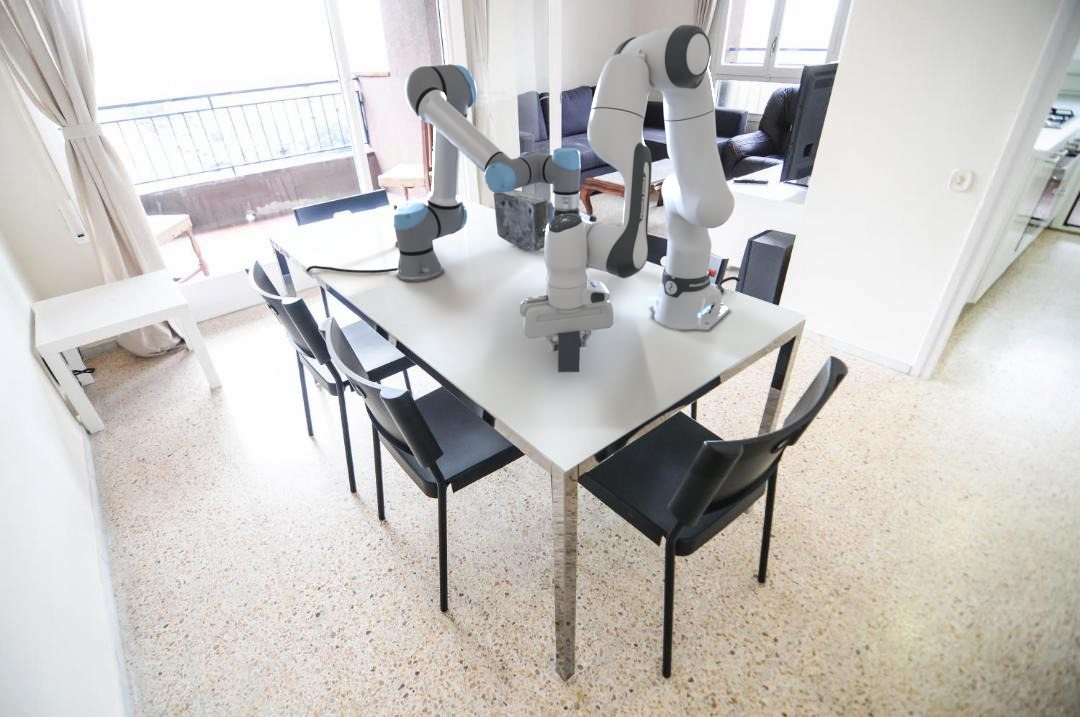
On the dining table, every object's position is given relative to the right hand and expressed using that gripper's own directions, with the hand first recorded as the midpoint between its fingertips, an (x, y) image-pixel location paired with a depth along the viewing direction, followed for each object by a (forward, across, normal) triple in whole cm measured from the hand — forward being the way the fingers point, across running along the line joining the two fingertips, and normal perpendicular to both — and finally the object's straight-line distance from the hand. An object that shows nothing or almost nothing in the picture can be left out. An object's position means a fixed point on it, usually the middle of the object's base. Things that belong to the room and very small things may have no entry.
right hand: (568, 348), depth 114 cm
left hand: (+3, +9, +43) cm, 44 cm away
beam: (+4, +4, +22) cm, 22 cm away
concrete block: (+8, +3, +93) cm, 94 cm away
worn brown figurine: (+7, -42, +111) cm, 119 cm away
